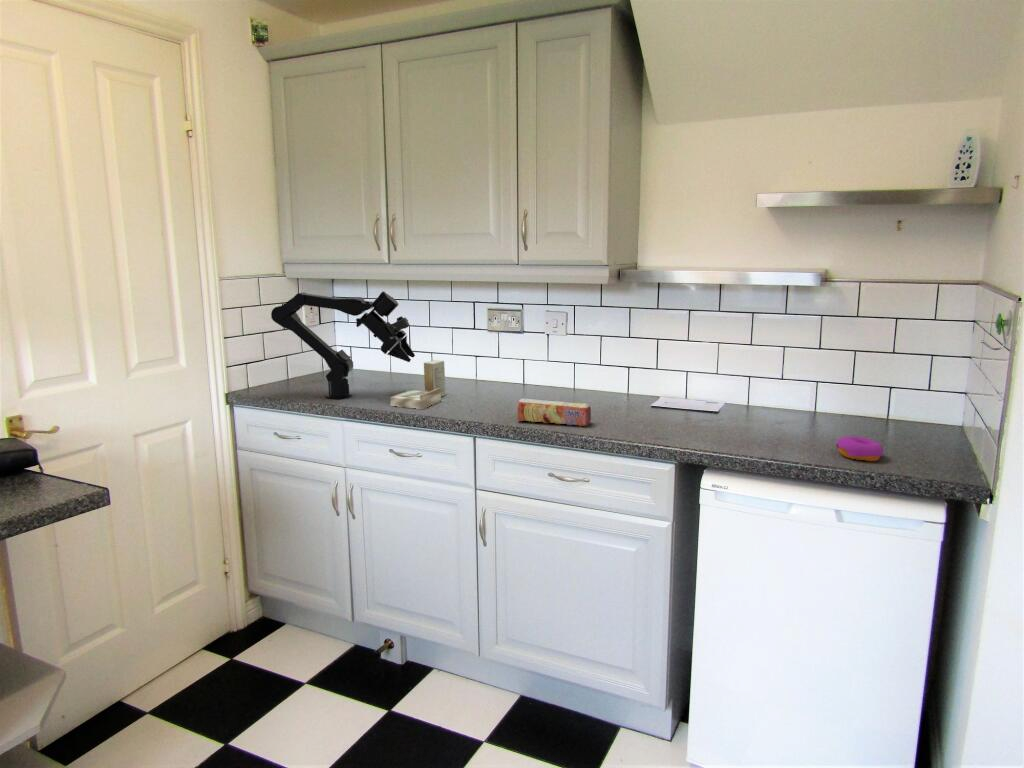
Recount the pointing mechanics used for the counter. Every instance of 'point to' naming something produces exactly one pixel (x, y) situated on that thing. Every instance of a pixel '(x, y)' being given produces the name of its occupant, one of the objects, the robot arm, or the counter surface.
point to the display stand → (416, 399)
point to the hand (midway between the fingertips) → (412, 358)
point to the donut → (859, 448)
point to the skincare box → (434, 376)
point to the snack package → (553, 412)
